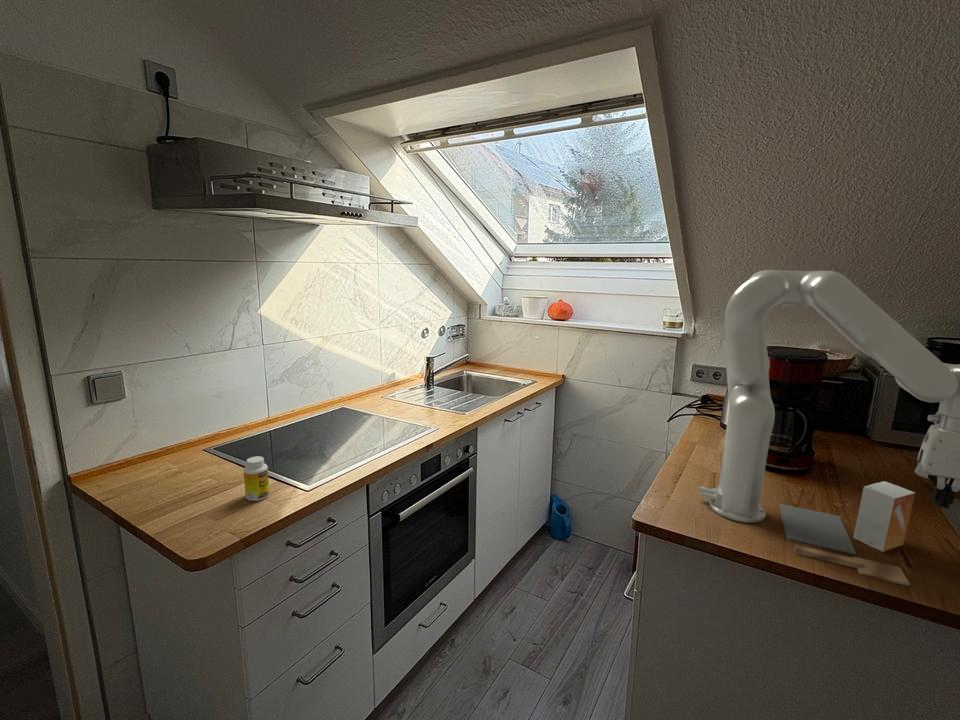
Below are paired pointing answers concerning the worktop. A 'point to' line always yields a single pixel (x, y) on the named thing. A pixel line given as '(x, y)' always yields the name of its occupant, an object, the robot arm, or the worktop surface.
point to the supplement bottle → (256, 479)
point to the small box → (883, 515)
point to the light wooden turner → (858, 565)
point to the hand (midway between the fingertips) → (940, 504)
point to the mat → (815, 528)
